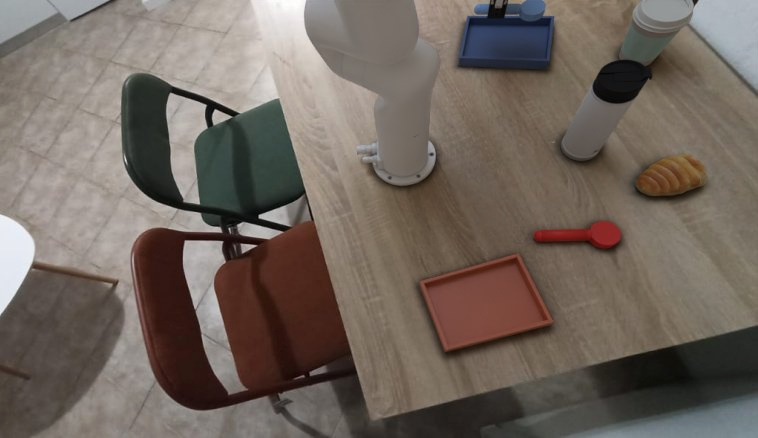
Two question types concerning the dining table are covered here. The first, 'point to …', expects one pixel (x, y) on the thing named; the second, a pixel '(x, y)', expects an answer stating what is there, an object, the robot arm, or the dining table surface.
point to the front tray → (484, 303)
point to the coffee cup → (654, 28)
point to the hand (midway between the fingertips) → (496, 11)
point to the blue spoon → (518, 9)
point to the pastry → (672, 176)
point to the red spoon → (584, 234)
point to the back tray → (507, 42)
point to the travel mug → (604, 107)
